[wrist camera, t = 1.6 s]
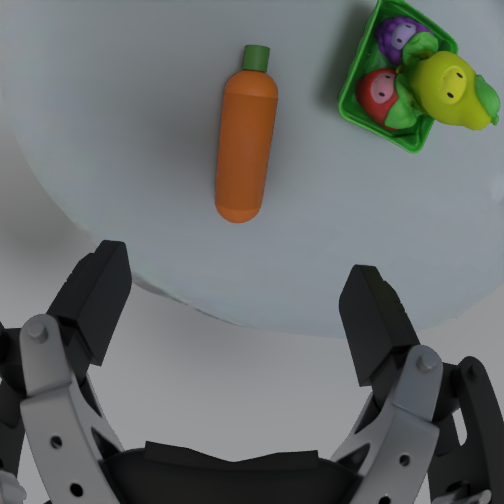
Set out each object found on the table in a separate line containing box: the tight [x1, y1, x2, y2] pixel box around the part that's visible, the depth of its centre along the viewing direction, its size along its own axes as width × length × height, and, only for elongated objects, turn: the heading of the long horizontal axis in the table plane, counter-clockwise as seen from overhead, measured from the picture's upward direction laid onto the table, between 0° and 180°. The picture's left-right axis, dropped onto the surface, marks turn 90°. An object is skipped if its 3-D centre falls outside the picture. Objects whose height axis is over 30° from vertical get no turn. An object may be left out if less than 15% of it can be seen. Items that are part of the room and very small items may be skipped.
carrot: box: [215, 45, 278, 223], centre depth 20 cm, size 15×4×4 cm, turn 173°
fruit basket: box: [338, 0, 500, 154], centre depth 13 cm, size 11×9×11 cm
